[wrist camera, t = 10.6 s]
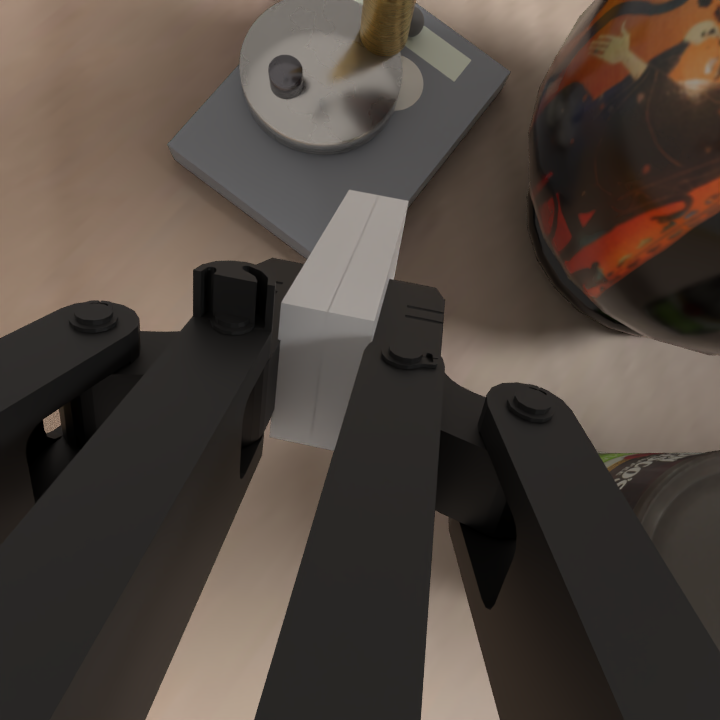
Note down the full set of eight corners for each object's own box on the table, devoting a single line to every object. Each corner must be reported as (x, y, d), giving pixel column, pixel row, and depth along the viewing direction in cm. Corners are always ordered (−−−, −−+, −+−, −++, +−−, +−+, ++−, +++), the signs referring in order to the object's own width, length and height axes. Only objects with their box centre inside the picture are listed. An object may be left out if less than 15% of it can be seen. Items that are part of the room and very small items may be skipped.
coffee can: (501, 464, 39) (604, 468, 25) (656, 441, 40) (837, 432, 26) (531, 635, 38) (658, 738, 24) (691, 606, 39) (902, 690, 25)
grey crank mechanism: (340, -28, 44) (343, -74, 40) (501, 89, 43) (519, 54, 39) (174, 159, 41) (160, 129, 37) (344, 287, 40) (348, 270, 36)
